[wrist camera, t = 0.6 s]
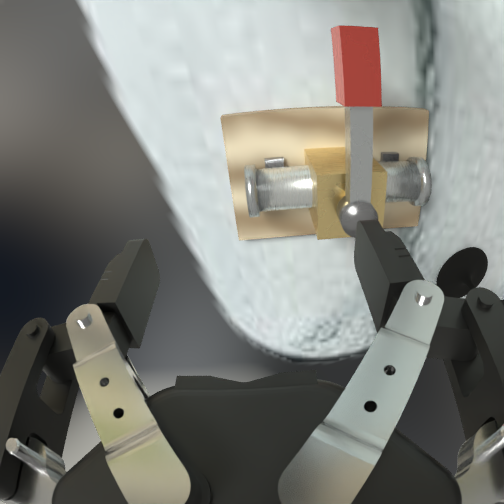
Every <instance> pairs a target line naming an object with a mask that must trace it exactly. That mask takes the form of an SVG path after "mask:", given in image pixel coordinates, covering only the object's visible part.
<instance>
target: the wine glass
mask: <svg viewBox="0 0 504 504" xmlns="http://www.w3.org/2000/svg"><path fill="white" fill-rule="evenodd" d="M487 265H488V261H487V256H486V254H485V253H484V252H483V251H482V250H481V249H479V248H475V247H470V248H465V249H463V250H461V251H459V252H457V253H455V254H454V255H453V256H452V257H450V258H449V259H448V260H447V261H446V263H445V264H444V265H443V267H442V268H441V270H440V272H439V274H438V277H437V286H438V287H439V288H440V289H441V291H442V292H443V294H444V296H447V297H453V298H460V297H463V296H465V295H467V294H468V292H469V291H470V290H471V289H474V288H476V287H477V286H478V285H479V283H480V282H481V281H482V279H483V277H484V276H485V273H486V270H487ZM501 302H502V304H503V306H504V300H501Z"/></svg>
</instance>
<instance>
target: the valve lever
mask: <svg viewBox="0 0 504 504" xmlns="http://www.w3.org/2000/svg"><path fill="white" fill-rule="evenodd" d="M331 34H332V45H333V56H334V70H335V85H336V102H338V103H340V104H341V105H343V106H344V110H345V196H344V197H343V198H341V200H340V201H339V202H338V205H337V208H336V213H337V216H338V219H339V221H340V223H341V225H342V228H343V230H344V231H345V233H346V234H348V235H349V236H351V237H355V238H356V227H357V222H358V221H360V220H375V219H377V220H378V214H377V211H376V210H375V208H374V207H373V205H372V204H371V187H372V163H373V107H382V101H381V68H380V50H379V36H378V28H374V27H360V26H337V27H334V28H331Z"/></svg>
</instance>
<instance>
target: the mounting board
mask: <svg viewBox="0 0 504 504" xmlns="http://www.w3.org/2000/svg"><path fill="white" fill-rule="evenodd" d="M428 120H429V111H428V110H426V109H423V108H409V107H385V106H382V107H373V158H374V159H375V160H376V161H377V162H380V159H381V152H398V153H399V161H406V160H407V159H408V158H409V157H422V158H423V159H424V160H425V161H426V153H427V139H428ZM221 124H222V131H223V138H224V144H225V151H226V158H227V165H228V171H229V178H230V185H231V191H232V198H233V204H234V211H235V217H236V224H237V230H238V237H239V240H250V239H262V238H273V237H285V236H297V235H309V234H316V232H315V228H314V225H313V222H312V218H311V215H310V212H309V209H308V208H299V209H287V210H275V211H264V212H260V217H252V218H250V217H249V212H248V206H247V198H246V189H245V174H244V168H245V165H254V164H255V167H256V169H263V168H265V160H264V158H272V157H283V158H284V167H286V166H300V165H305V156H304V149H310V148H329V147H345V110H344V106H329V107H304V108H288V109H274V110H263V111H253V112H243V113H234V114H226V115H222V116H221ZM420 207H421V206H413V205H411V204H410V202H390V203H385V211H384V221H383V229H385V228H398V227H412V226H418V221H419V214H420Z"/></svg>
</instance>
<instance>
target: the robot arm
mask: <svg viewBox="0 0 504 504" xmlns="http://www.w3.org/2000/svg"><path fill="white" fill-rule="evenodd" d="M354 263H355V269H356V272H357V275H358V277H359V280H360V283H361V286H362V289H363V292H364V294H365V297H366V300H367V303H368V306H369V309H370V312H371V315H372V318H373V321H374V324H375V327H376V330H377V335H376V337H375V339H374V341H373V343H372V344H371V346H370V348H369V350H368V351H367V353H366V355H365V357H364V358H363V360H362V362H361V364H360V365H359V367H358V369H357V371H356V372H355V374H354V375H353V377H352V379H351V380H350V382H349V383H348V385H347V387H346V388H345V387H342V386H340V385H338V384H335V383H332V382H329V381H324V380H318V379H317V374H316V370H308V371H296V372H284V373H278V374H275V375H272V376H268V377H265V378H261V379H257V380H254V381H250V382H237V381H232V380H227V379H222V378H217V377H212V376H177V379H176V384H175V386H172V387H169V388H166V389H163V390H161V391H159V392H157V393H155V394H154V395H152V396H150V394H149V393H148V391H147V390H146V388H145V386H144V384H143V383H142V381H141V379H140V377H139V375H138V374H137V372H136V370H135V369H134V366H133V365H132V363H131V361H130V359H129V357H128V356H127V352H128V349H129V348H140V346H141V342H142V339H143V335H144V332H145V329H146V325H147V322H148V319H149V316H150V312H151V309H152V306H153V303H154V300H155V296H156V293H157V290H158V287H159V283H160V274H159V269H158V266H157V264H156V261H155V258H154V255H153V252H152V249H151V246H150V243H149V241H148V240H147V239H138V240H130V241H128V242H127V243H126V245H125V247H124V249H123V251H122V253H121V254H117V255H116V256H115V257H114V258H113V259H112V260H111V261H110V262H109V264H108V266H107V268H106V269H105V273H103V275H102V277H101V280H100V281H99V283H98V285H97V287H96V289H95V291H94V293H93V295H92V297H91V299H90V301H89V303H88V304H85V305H82V306H80V307H78V308H76V309H75V310H74V311H73V312H72V313H71V314H70V315H69V317H68V319H67V322H66V323H64V324H60V325H56V326H53V327H50V325H49V324H48V322H47V321H46V320H45V319H44V318H35V319H33V320H31V321H29V322H28V323H27V324H25V326H24V327H23V328H22V329H21V331H20V333H19V335H18V337H17V339H16V341H15V344H14V346H13V348H12V350H11V352H10V354H9V357H8V359H7V361H6V363H5V366H4V368H3V370H2V373H1V375H0V501H2V502H4V503H6V504H504V306H503V304H502V302H501V300H500V299H499V297H498V296H497V295H496V294H495V293H493V292H492V291H490V290H488V289H485V288H474V289H471V290H470V291H469V292H468V294H467V296H466V299H461V298H453V297H447V296H444V294H443V292H442V291H441V289H440V288H439V287H438V286H437V285H435V284H433V283H432V282H429V281H426V280H424V278H423V276H422V274H421V273H420V271H419V269H418V267H417V266H416V264H415V262H414V260H413V259H412V257H410V253H409V252H408V250H407V249H406V247H405V245H404V243H403V242H402V240H401V239H400V238H399V237H398V236H397V235H395V234H394V233H393V232H391V231H390V232H385V231H384V229H383V228H382V226H381V224H380V222H379V221H378V220H377V219H375V220H360V221H358V222H357V227H356V240H355V251H354ZM426 357H427V358H437V359H443V361H444V364H445V367H446V370H447V373H448V376H449V379H450V382H451V386H452V389H453V393H454V396H455V399H456V403H457V406H458V410H459V414H460V418H461V422H462V425H463V430H464V434H465V438H466V442H465V443H464V444H463V445H462V446H461V448H460V450H459V453H458V468H457V473H456V475H455V477H454V476H453V475H452V473H451V472H450V471H449V470H448V469H447V468H445V467H444V466H443V465H441V464H440V463H439V462H438V461H436V460H435V459H434V458H432V457H431V456H430V455H429V454H427V453H426V452H425V451H424V450H422V449H421V448H420V447H419V446H418V445H416V444H415V443H414V442H413V441H411V440H410V439H409V438H408V437H406V436H405V435H404V434H403V433H402V432H400V431H399V430H398V429H397V428H395V426H396V424H397V422H398V420H399V418H400V416H401V414H402V412H403V410H404V408H405V405H406V403H407V401H408V399H409V397H410V395H411V392H412V390H413V388H414V385H415V383H416V381H417V378H418V376H419V374H420V371H421V369H422V366H423V364H424V361H425V358H426ZM42 370H43V371H44V372H45V373H46V374H47V378H46V380H45V383H44V386H43V389H42V392H41V395H40V397H39V396H38V394H37V384H38V381H39V378H40V375H41V372H42ZM79 386H80V389H81V392H82V395H83V397H84V400H85V403H86V405H87V408H88V410H89V413H90V415H91V418H92V420H93V423H94V425H95V428H96V430H97V433H98V435H99V437H100V439H101V442H100V443H99V444H97V445H96V446H95V447H94V448H93V449H92V450H91V451H90V452H89V453H88V454H87V455H85V456H84V457H83V458H82V459H81V460H80V461H79V462H78V463H77V464H76V465H74V466H73V467H72V468H71V469H70V470H69V471H68V472H66V471H65V464H64V461H63V459H62V454H63V449H64V444H65V440H66V436H67V431H68V427H69V423H70V419H71V415H72V411H73V407H74V404H75V399H76V396H77V392H78V389H79Z"/></svg>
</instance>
